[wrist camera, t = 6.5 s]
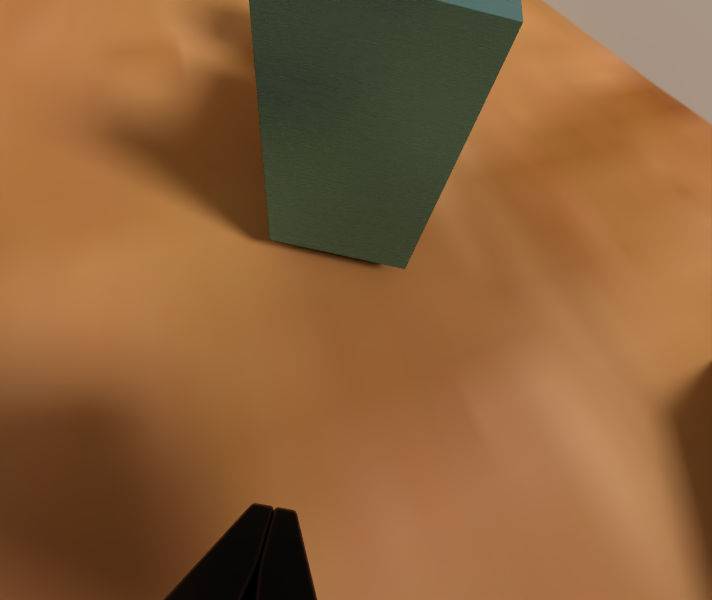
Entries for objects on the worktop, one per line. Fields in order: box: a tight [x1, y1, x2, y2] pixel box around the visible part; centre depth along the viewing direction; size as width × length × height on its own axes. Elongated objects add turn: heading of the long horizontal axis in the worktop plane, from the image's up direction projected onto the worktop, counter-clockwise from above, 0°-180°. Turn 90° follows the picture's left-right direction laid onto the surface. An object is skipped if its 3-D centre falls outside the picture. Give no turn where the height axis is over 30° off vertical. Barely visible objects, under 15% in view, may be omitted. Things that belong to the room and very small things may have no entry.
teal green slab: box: [249, 0, 523, 269], centre depth 16 cm, size 13×6×10 cm, turn 171°
